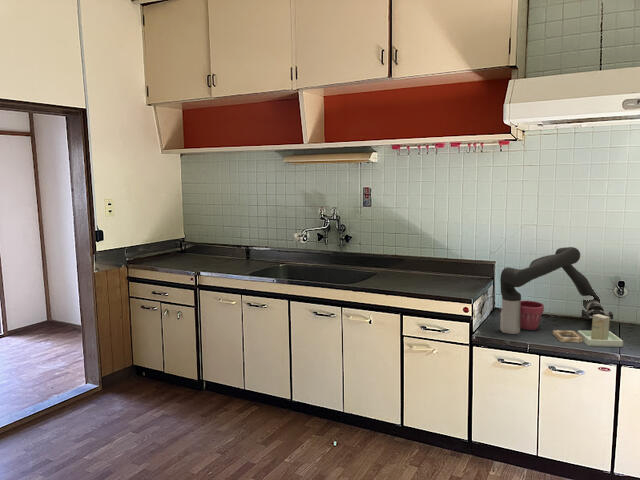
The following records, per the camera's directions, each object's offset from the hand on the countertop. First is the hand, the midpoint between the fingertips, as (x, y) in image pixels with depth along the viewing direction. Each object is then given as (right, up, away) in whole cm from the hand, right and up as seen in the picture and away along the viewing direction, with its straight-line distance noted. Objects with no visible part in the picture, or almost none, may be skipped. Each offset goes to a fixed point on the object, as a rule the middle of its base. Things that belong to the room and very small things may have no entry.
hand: (598, 318), depth 259 cm
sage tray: (-4, -10, -8) cm, 13 cm away
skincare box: (-3, -10, -8) cm, 13 cm away
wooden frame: (-16, -10, -2) cm, 19 cm away
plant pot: (-28, -7, +17) cm, 34 cm away
